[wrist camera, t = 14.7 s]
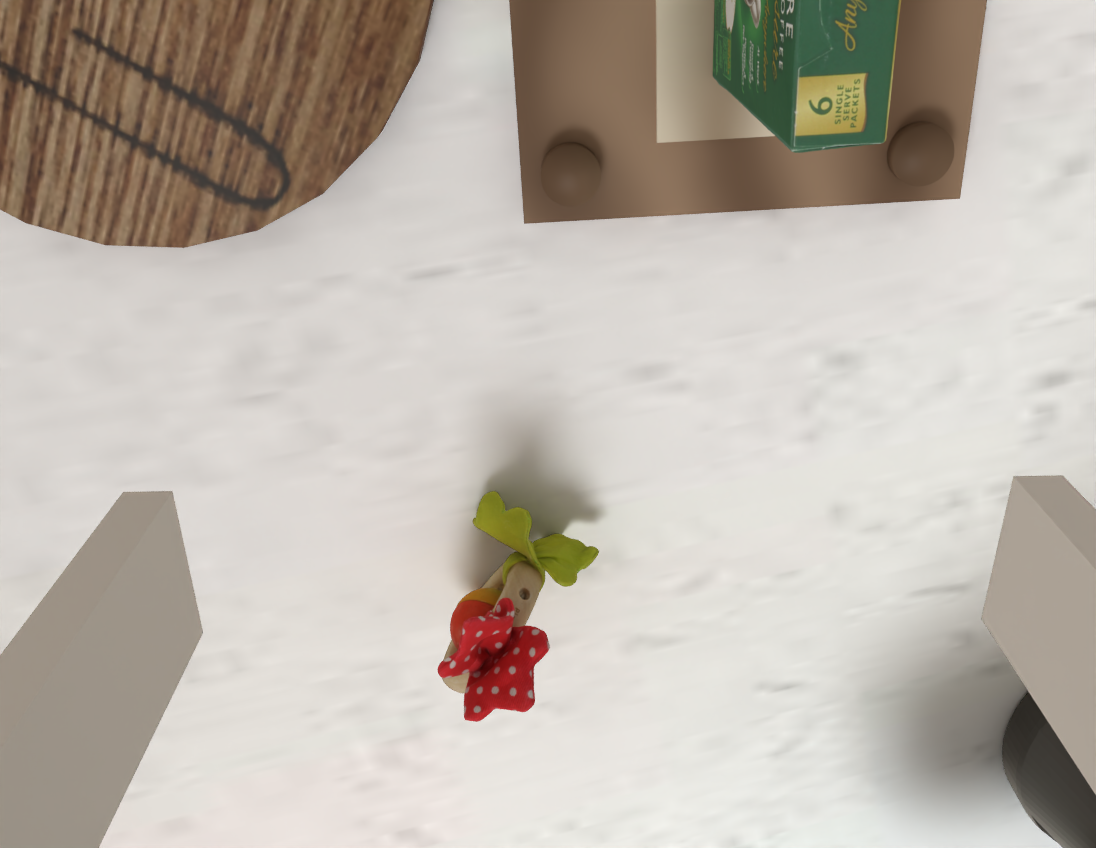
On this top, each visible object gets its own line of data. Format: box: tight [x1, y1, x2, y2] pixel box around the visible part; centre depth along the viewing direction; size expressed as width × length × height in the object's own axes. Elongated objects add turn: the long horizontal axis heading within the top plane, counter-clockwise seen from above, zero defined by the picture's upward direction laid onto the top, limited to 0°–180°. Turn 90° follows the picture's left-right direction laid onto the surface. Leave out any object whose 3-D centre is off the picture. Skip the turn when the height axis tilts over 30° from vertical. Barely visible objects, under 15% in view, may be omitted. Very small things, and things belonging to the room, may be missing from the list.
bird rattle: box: [438, 491, 599, 722], centre depth 46 cm, size 6×11×9 cm
